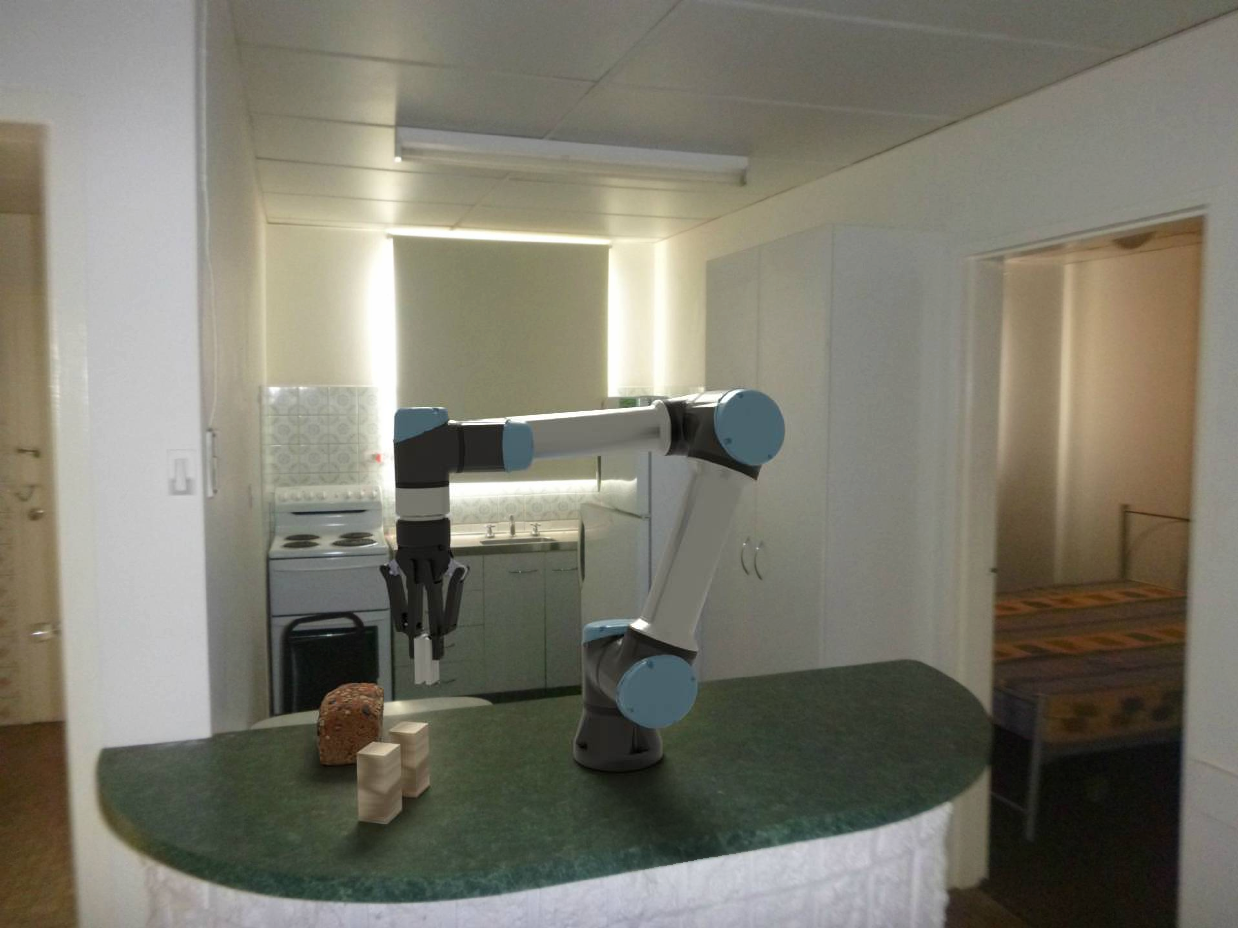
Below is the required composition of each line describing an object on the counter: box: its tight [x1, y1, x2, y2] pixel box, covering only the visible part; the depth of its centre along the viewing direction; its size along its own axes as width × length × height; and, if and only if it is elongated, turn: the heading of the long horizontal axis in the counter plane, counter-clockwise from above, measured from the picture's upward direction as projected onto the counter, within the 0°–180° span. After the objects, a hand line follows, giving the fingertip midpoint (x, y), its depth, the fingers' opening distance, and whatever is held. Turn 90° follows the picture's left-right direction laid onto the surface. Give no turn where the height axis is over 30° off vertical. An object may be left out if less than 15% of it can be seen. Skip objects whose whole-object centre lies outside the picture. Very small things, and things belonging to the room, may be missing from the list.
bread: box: [316, 682, 385, 766], centre depth 158 cm, size 19×11×10 cm, turn 12°
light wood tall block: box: [387, 721, 431, 799], centre depth 139 cm, size 4×4×10 cm
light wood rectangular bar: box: [356, 742, 403, 825], centre depth 131 cm, size 4×4×10 cm
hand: (427, 681), depth 128 cm, fingers closed
